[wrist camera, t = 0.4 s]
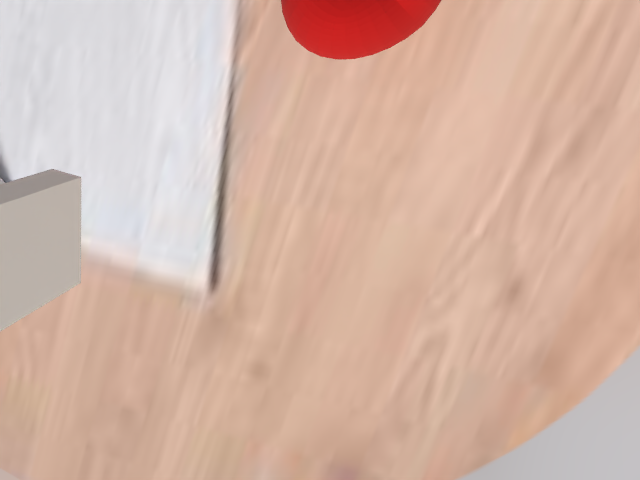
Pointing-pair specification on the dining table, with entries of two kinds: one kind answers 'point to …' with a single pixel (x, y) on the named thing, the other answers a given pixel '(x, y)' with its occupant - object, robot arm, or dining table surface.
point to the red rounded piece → (354, 24)
